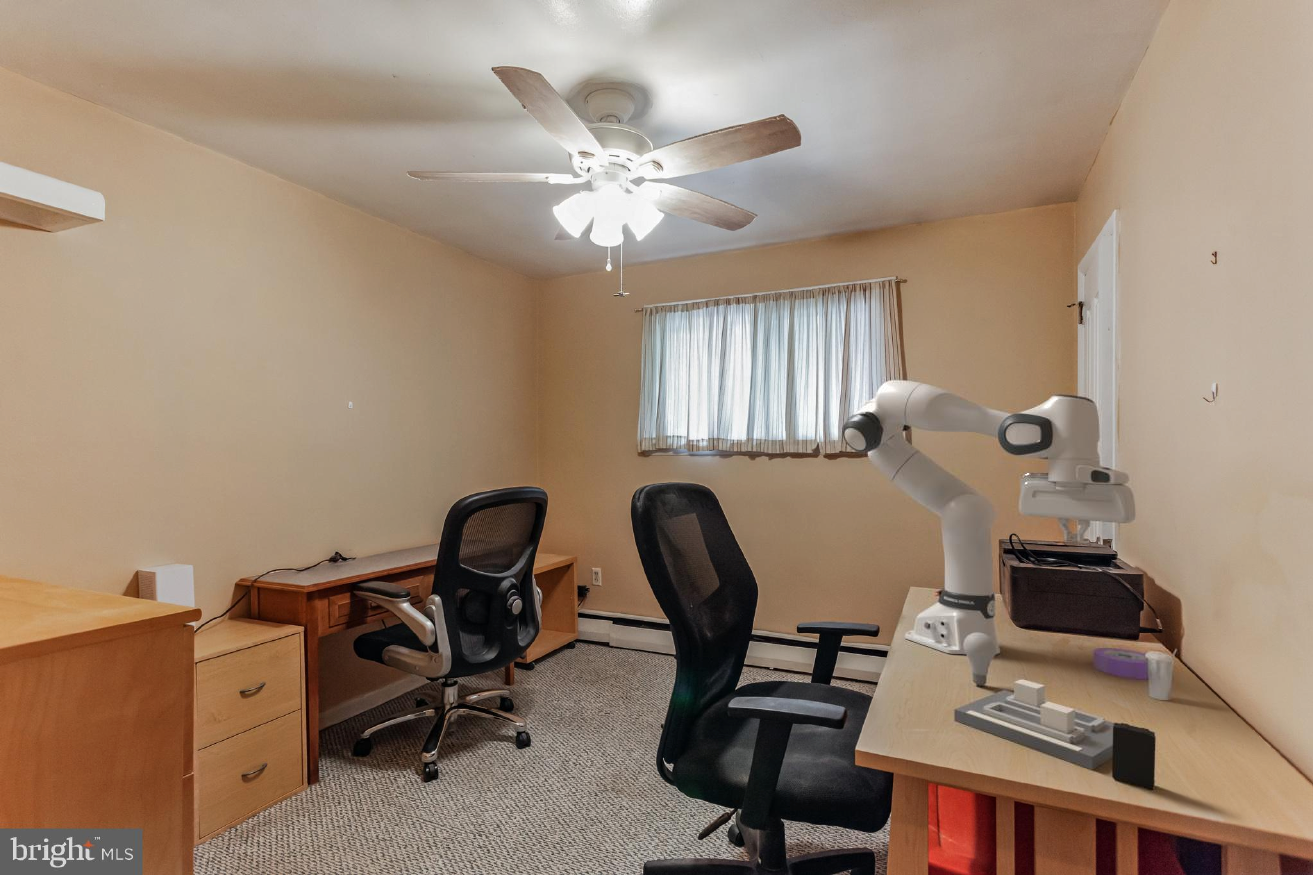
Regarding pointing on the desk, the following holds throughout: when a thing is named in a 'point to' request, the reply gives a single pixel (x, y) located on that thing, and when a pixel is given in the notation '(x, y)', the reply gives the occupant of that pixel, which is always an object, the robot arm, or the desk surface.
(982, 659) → the lightbulb
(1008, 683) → the desk surface
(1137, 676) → the masking tape
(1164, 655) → the milkshake
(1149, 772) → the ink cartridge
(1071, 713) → the switch tab
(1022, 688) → the switch tab
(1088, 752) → the switch panel
